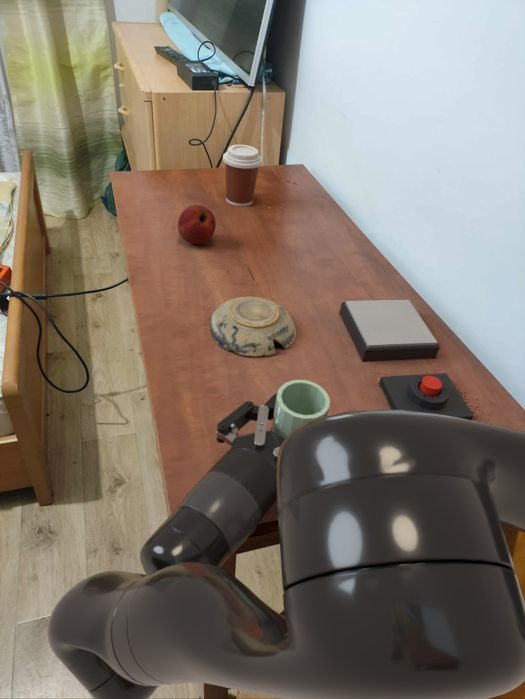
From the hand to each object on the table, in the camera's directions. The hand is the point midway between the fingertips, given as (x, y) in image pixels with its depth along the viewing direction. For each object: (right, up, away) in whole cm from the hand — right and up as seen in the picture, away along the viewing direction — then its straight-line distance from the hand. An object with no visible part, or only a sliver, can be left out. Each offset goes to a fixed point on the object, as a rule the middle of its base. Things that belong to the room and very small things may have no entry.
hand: (307, 409), depth 64 cm
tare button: (+19, +2, +10) cm, 21 cm away
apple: (-19, +30, +41) cm, 55 cm away
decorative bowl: (-7, +11, +21) cm, 25 cm away
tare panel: (+18, 0, +12) cm, 22 cm away
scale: (+16, +10, +24) cm, 30 cm away
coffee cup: (-11, +43, +58) cm, 74 cm away
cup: (-2, -6, +2) cm, 6 cm away
